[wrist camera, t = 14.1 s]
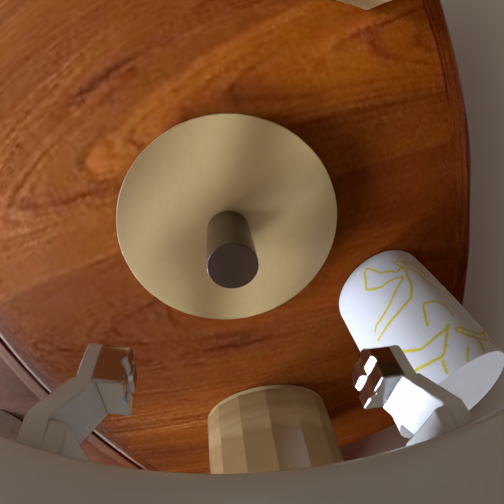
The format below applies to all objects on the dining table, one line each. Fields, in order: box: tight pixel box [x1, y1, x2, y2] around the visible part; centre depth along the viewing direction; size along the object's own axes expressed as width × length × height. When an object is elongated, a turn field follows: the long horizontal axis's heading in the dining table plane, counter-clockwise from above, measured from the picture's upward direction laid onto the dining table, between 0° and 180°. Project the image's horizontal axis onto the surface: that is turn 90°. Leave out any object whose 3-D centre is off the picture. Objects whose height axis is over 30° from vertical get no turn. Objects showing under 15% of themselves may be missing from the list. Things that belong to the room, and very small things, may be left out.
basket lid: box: [116, 113, 337, 319], centre depth 18 cm, size 14×14×6 cm
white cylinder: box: [339, 250, 504, 438], centre depth 20 cm, size 8×8×12 cm
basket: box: [208, 385, 344, 474], centre depth 28 cm, size 13×13×10 cm
